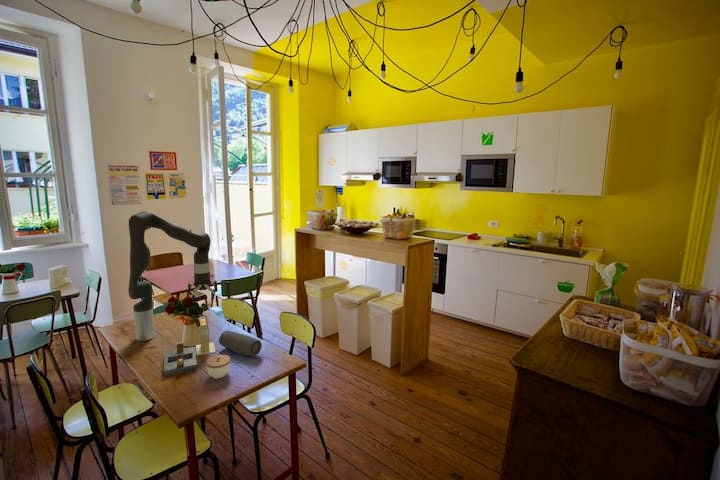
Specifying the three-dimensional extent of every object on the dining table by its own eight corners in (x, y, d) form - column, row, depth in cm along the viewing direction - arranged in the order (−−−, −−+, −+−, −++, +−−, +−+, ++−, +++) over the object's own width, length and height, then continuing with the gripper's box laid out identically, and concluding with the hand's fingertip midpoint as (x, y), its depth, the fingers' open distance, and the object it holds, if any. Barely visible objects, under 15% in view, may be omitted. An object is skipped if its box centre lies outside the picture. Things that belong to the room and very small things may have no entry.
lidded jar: (212, 368, 171) (211, 350, 169) (234, 369, 170) (233, 351, 169) (202, 381, 160) (201, 362, 158) (225, 382, 160) (224, 363, 158)
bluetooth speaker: (262, 353, 187) (262, 336, 185) (249, 361, 178) (249, 343, 177) (231, 343, 197) (231, 326, 195) (218, 350, 189) (217, 333, 187)
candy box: (200, 345, 193) (199, 319, 190) (209, 344, 195) (207, 318, 192) (201, 352, 185) (200, 325, 182) (210, 351, 187) (208, 324, 184)
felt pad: (196, 345, 193) (195, 345, 193) (213, 342, 197) (213, 342, 197) (196, 355, 182) (196, 355, 182) (215, 352, 186) (215, 351, 186)
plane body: (165, 356, 180) (164, 344, 179) (195, 351, 187) (194, 339, 185) (163, 376, 163) (162, 362, 162) (197, 370, 169) (196, 356, 168)
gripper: (186, 274, 176) (188, 304, 179) (217, 271, 182) (218, 301, 185) (186, 270, 182) (188, 300, 185) (216, 268, 189) (217, 296, 192)
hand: (203, 300), depth 185 cm, fingers open, 8 cm apart
